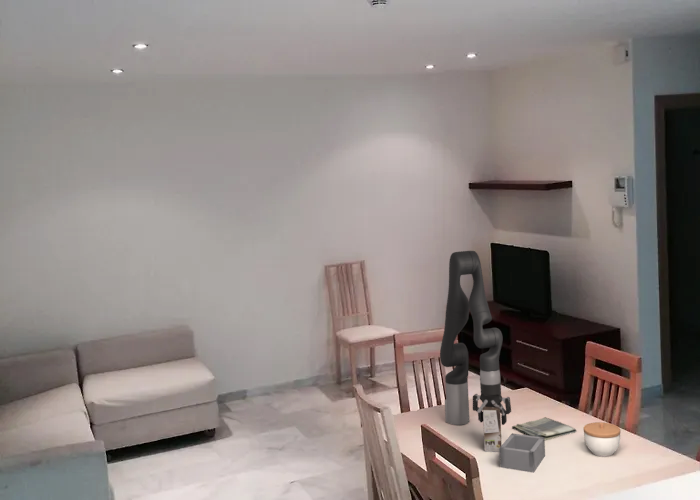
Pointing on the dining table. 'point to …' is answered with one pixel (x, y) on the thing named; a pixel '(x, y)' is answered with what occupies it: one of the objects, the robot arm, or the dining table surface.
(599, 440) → the lidded bowl
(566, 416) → the dining table surface
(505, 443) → the grey open box
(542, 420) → the dish towel
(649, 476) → the dining table surface
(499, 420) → the coffee box
